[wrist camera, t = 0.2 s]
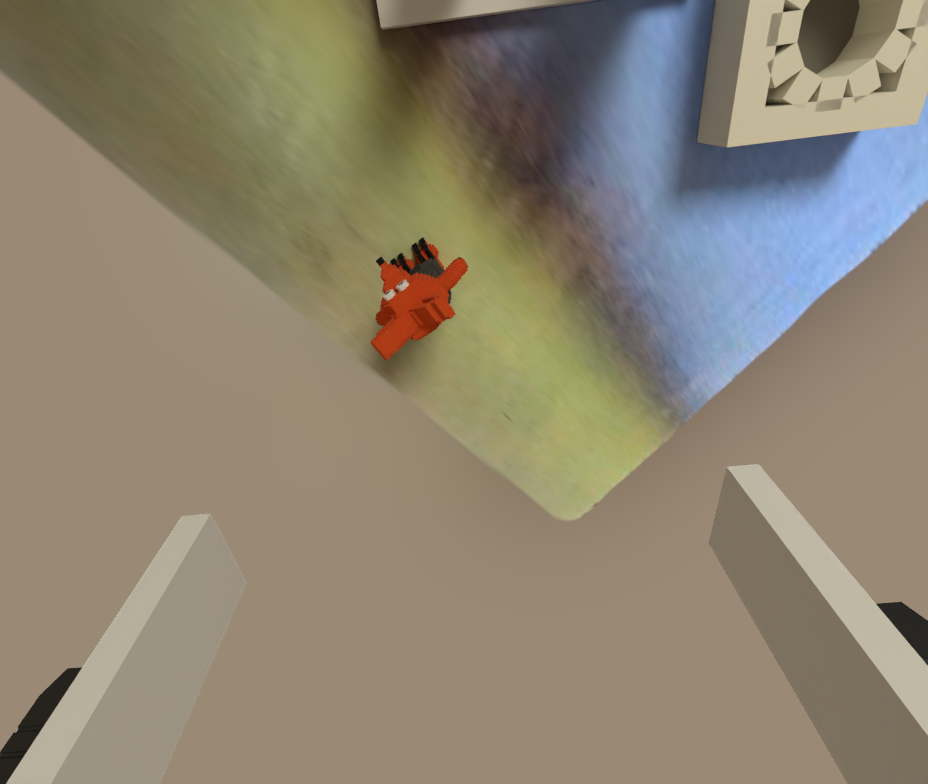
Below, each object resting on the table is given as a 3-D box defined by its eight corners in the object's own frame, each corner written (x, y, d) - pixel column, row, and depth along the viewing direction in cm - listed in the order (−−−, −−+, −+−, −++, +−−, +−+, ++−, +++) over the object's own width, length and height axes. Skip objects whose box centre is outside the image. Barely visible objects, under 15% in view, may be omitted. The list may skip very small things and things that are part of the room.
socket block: (725, -81, 29) (767, -109, 25) (931, -111, 28) (1006, -144, 24) (696, 142, 35) (726, 147, 31) (865, 121, 34) (917, 124, 31)
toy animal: (433, 199, 37) (425, 237, 26) (472, 258, 39) (479, 313, 29) (354, 258, 39) (318, 314, 29) (395, 310, 41) (376, 379, 31)
